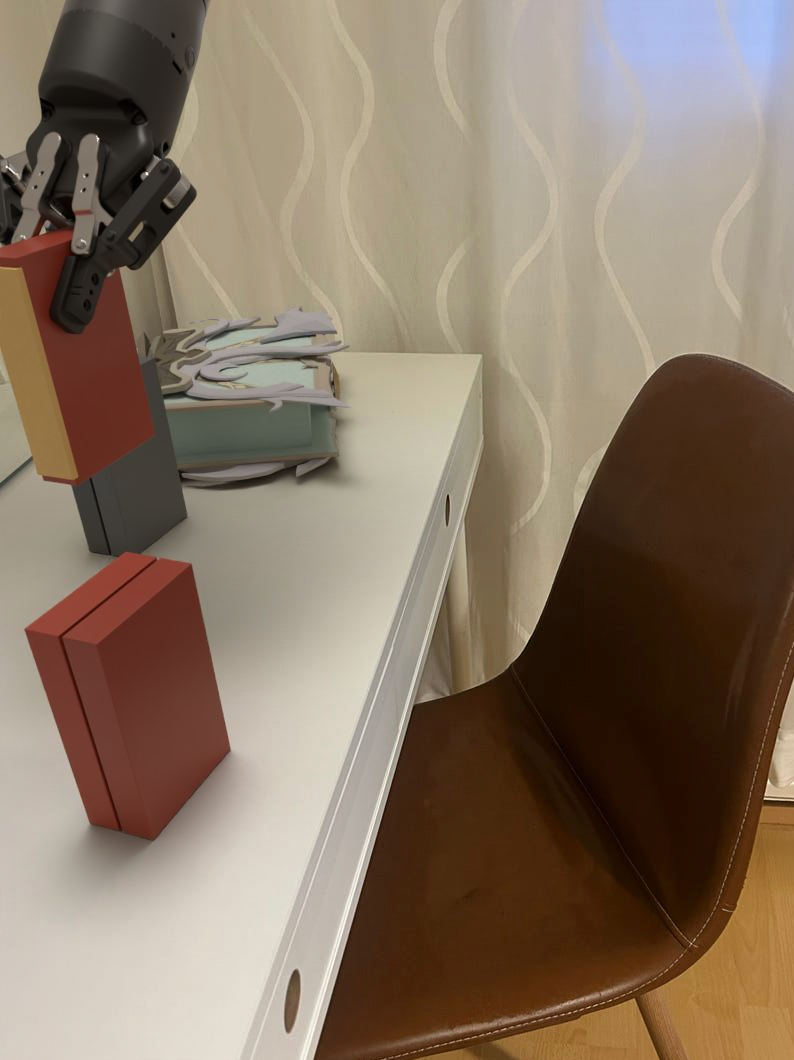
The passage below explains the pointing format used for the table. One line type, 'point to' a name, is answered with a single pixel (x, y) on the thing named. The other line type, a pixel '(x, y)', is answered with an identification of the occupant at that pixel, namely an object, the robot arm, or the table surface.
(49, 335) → the red book
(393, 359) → the table surface
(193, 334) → the ornate book
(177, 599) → the red books
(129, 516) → the grey books
